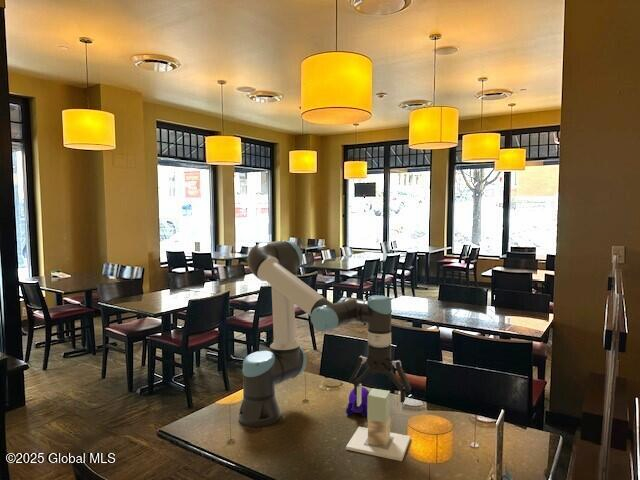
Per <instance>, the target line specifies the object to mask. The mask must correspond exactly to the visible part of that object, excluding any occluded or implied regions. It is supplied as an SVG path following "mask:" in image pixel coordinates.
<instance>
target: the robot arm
mask: <svg viewBox="0 0 640 480" xmlns="http://www.w3.org/2000/svg"><path fill="white" fill-rule="evenodd" d="M302 264H303V253H302V250H301V248H300V246H298V245H297V243H295V242H293V241H290V240H277V241H269V242H265V241H264V242H260V243H257V244H255V245H253V247H251V249H250V250H249V252H248V256H247V265H248V269H249V270H250V272H251V273H252V274H253V276H255V277H256V278H257V279H258V280H260V281H261V282H267V284H269V285H270V286H271V302H272V303H271V304H272V306H271V307H272V326H273V327H272V328H273V342H272V343H270V345H269V349H270V350H260V351H254V352H252V353H250V354H248V355H247V356H246V357H245V358H244V359H243V362H242V369H241V370H242V371H241V372H242V390H243V392H242V393H243V394H242V397H243V398H242V401H241V404H240V407H239V411H238V421H239V422H240V423H241V424H242V425H245V426H247V427H253V428H255V427H257V428H258V427H259V428H260V427H267V426H269V425H272V424H275V423H276V422H277V421H278V420H279V419H280V418H281V411H280V407H279V404H278V401H277V398H276V388H275V387H276V385H278V384H281V383H283V382H286V381H289V380H291V379H295V378H297V376H300V375H301V374H302V373H303V372H304V371H305V369H306V366H307V354H306V353H305V351H304V349H303V348H302V347H301V345H300V342H298V340H297V339H296V317H295V315H296V313H295V312H296V311H295V310H296V309H295V306H297V307H298V308H299V309H301V310H302V311H304V313H306V314H307V315H308V316H309V317H310V322H311V324H312V325H313V328H314V329H315V330H316V331H319V332H326V331H332V330H334V329H337V328H340V327H342V326H346V325H349V324H353V323H360V324H366V325H367V343H368V344H367V357H365V356H364V355H362V354H361V355H360V356H359V357H358V358H357V364H356V366H355V368H354V370H353V372H352V373H351V376H350V377H349V379H348V383H349V384H351V385H353V389H354V394H355V395H357V406H360V404H361V387H362V383H361V382H362V381H363V380H364V379H365V378H366V377H367V376H368V375H369V373H371V371H372V372H373V373H375V374H382V375H383V374H386V376H387V377H389V379H390V380H391V381H392V383H393V385H395V387H396V388H397V389H398V393H397V414H401V413H402V411H403V403H405V402H406V401H405V400H406V393H410V391H411V389H412V386H411V384H410V381H409V379H408V378H407V376H406V373H405V371H404V369H403V366H402V361H401V359H397V360H393V359H392V345H391V344H392V312H393V309H392V299H391V298H390V297H389V296H387V295H379V294H378V295H377V294H375V295H370V296H368V298H367V300H366V299H365V300H364V299H358V298H354V297H344V296H343V297H341V298H339V300H338V301H337V302H335V303H332V302H331V301H330V300H328V299H327V298H326V297H324V296H323V295H322V294H320V293H319V292H317V291H316V290H315V289H313V288H312V287H310V286H309V285H308V284H307V283H305V282H304V280H303V281H302V279H300V278H299V277H297V276H298V269H299V268H300V267H301V265H302ZM365 363H366V364H367V365H368V368H366V370H365V371H363V373H361V375H360V376H359V377H357V375H358V374H359V372H360V369H361V367H362V365H363V364H365ZM392 367H394V368H395V369H396V373H397V375H398V376H399V378H400V379H399V378H398V376H397V375H396V374H395V372H394V370H393V369H392ZM356 377H357V378H356Z"/></svg>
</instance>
